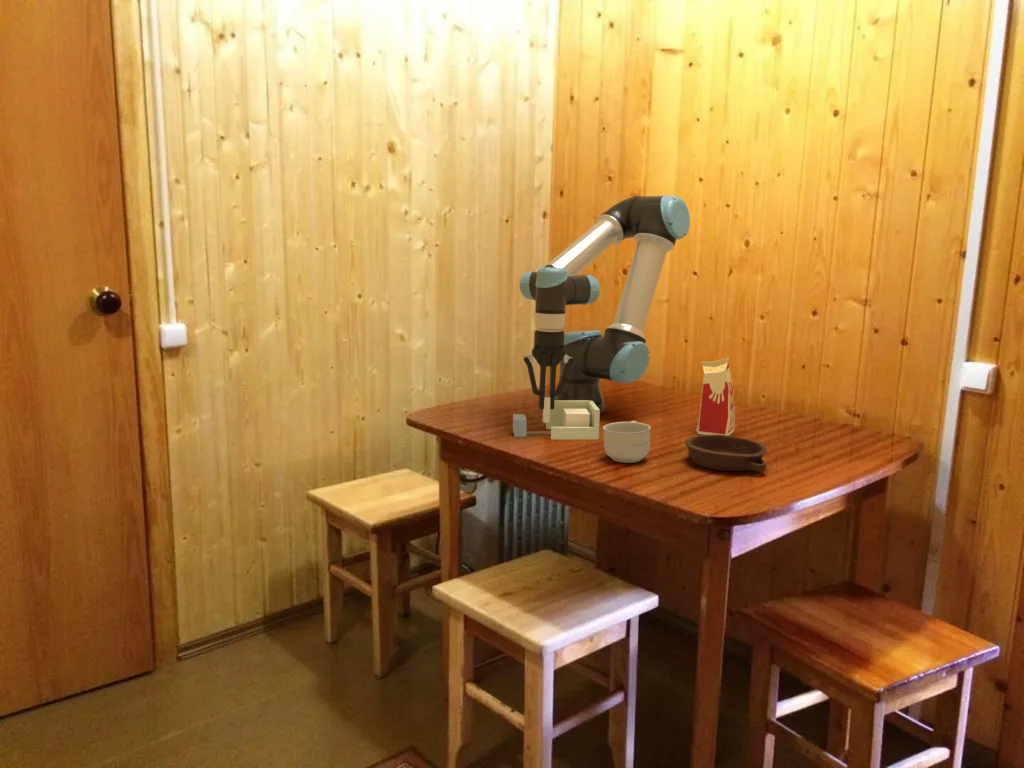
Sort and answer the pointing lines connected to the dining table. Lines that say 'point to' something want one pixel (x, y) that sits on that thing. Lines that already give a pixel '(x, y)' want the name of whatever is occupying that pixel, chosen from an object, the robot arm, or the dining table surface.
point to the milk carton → (716, 400)
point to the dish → (726, 453)
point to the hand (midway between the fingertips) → (545, 421)
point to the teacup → (627, 441)
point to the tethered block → (569, 420)
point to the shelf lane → (573, 432)
